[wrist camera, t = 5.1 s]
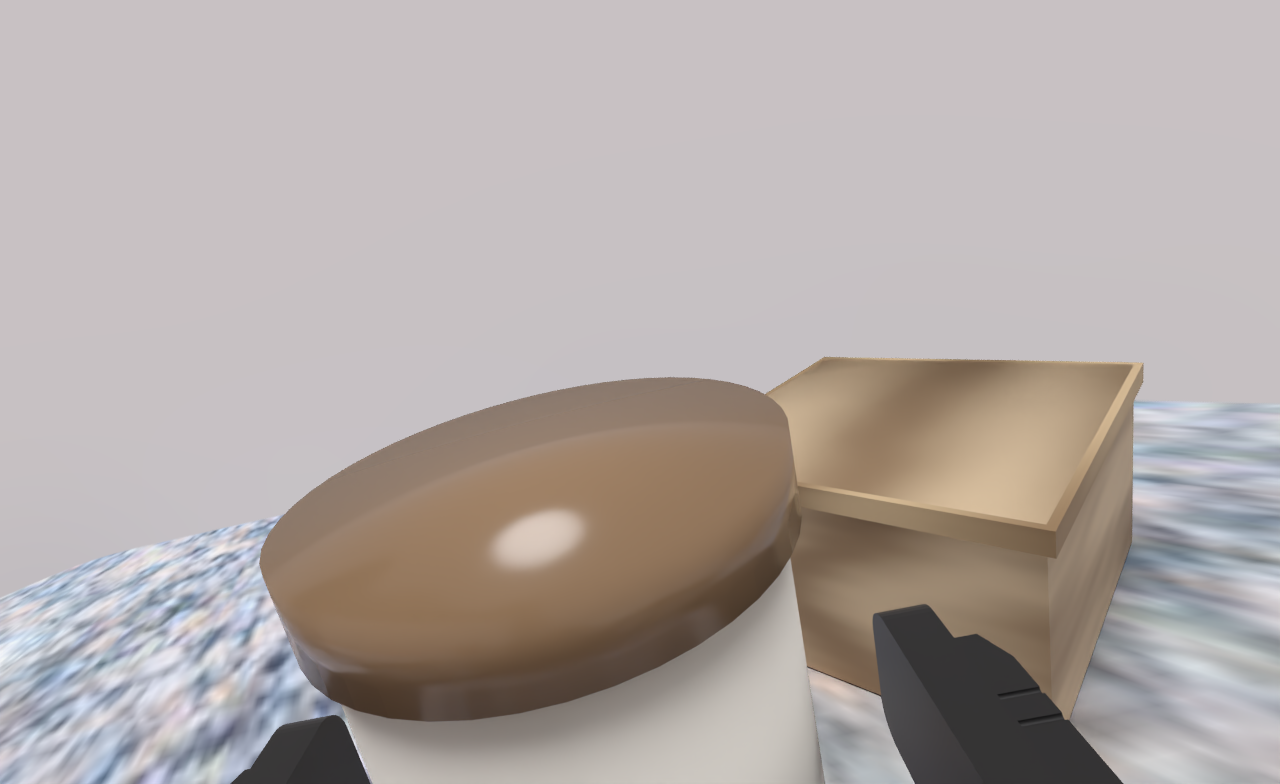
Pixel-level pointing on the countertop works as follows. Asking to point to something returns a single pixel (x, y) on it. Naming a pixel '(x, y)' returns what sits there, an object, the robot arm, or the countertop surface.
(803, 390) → the oak box
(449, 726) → the cream jar
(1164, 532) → the countertop surface
